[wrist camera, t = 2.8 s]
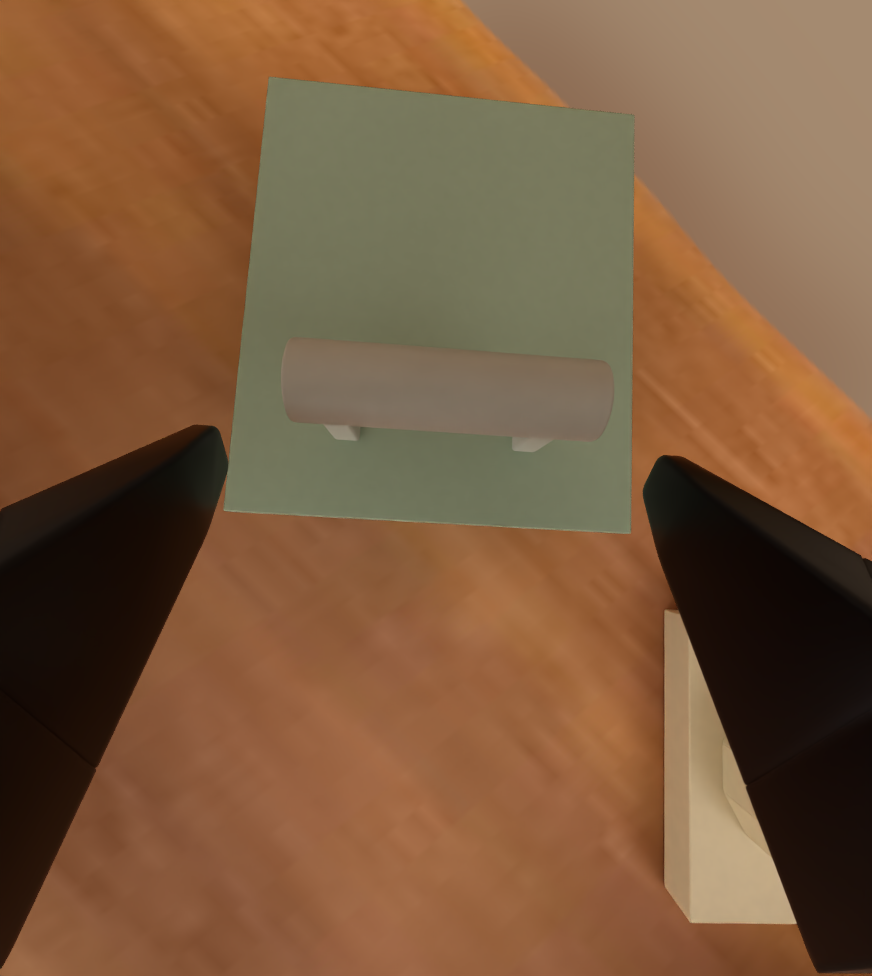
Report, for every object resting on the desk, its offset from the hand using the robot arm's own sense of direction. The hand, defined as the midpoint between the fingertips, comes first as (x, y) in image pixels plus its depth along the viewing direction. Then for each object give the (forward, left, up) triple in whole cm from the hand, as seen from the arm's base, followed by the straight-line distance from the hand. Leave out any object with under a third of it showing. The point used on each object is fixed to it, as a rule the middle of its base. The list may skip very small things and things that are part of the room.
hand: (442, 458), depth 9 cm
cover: (+5, -2, -4) cm, 7 cm away
